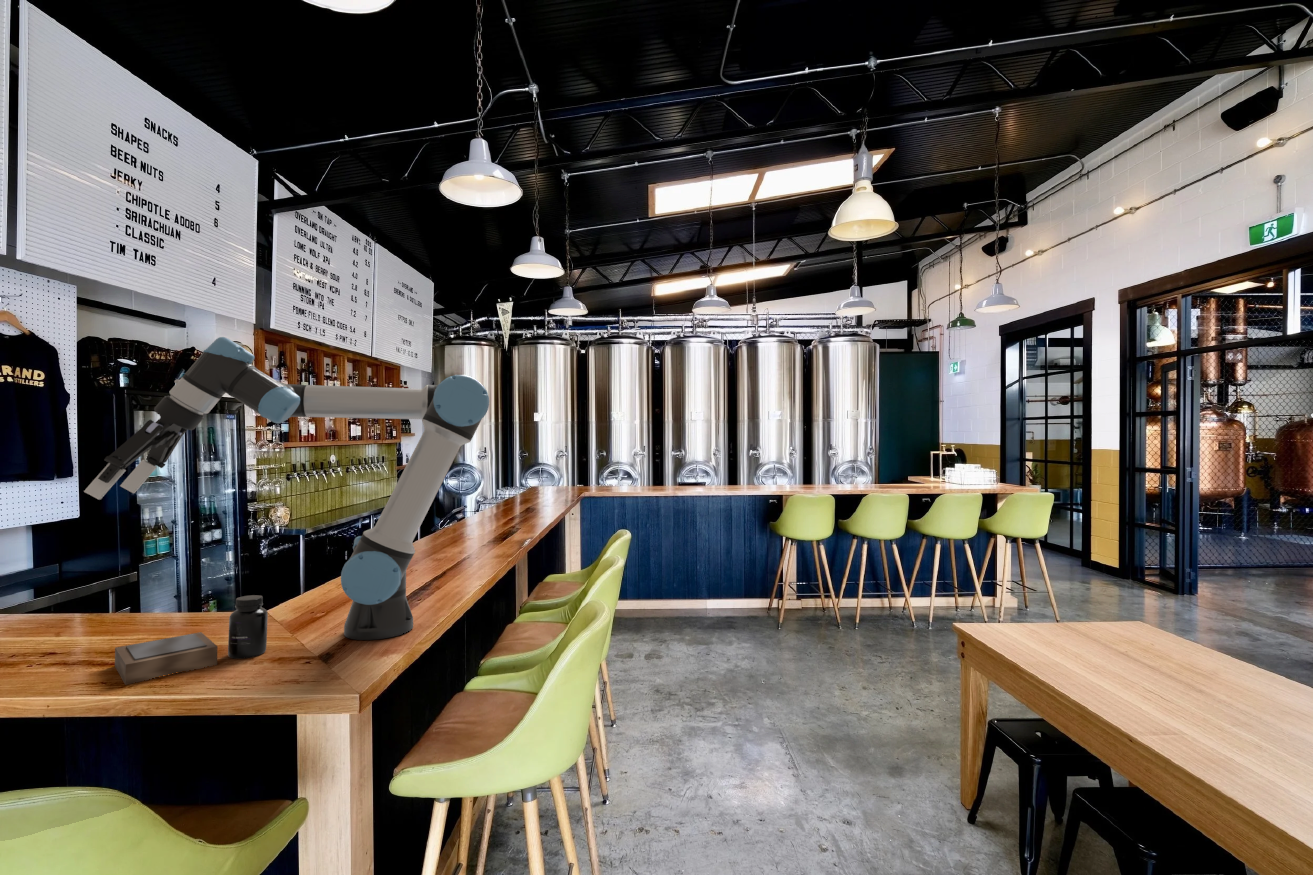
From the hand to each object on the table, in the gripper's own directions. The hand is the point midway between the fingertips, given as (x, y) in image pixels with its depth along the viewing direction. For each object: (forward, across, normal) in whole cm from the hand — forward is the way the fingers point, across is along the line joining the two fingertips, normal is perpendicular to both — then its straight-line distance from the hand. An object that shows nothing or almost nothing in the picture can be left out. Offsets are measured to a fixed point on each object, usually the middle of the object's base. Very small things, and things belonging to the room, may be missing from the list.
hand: (110, 492), depth 117 cm
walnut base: (+24, -1, +27) cm, 36 cm away
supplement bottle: (+16, -3, +38) cm, 42 cm away
